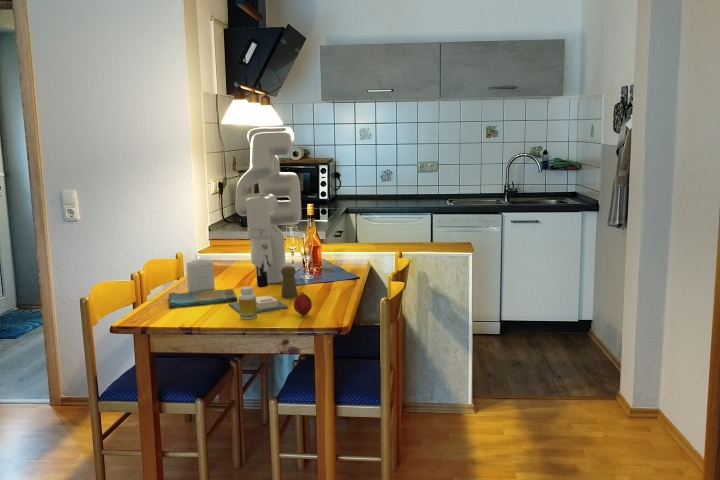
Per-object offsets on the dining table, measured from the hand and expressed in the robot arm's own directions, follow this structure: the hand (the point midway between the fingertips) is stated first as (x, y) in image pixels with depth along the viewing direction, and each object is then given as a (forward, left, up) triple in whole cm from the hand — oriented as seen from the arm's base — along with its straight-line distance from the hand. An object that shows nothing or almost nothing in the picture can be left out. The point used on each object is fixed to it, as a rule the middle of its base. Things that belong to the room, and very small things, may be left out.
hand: (262, 286), depth 230 cm
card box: (0, -3, -5) cm, 6 cm away
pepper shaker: (-12, -7, -7) cm, 16 cm away
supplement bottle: (+9, +11, -7) cm, 16 cm away
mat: (+2, 0, -7) cm, 7 cm away
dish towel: (+16, -21, -8) cm, 28 cm away
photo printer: (+13, -35, -7) cm, 38 cm away
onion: (-7, +19, -7) cm, 21 cm away
